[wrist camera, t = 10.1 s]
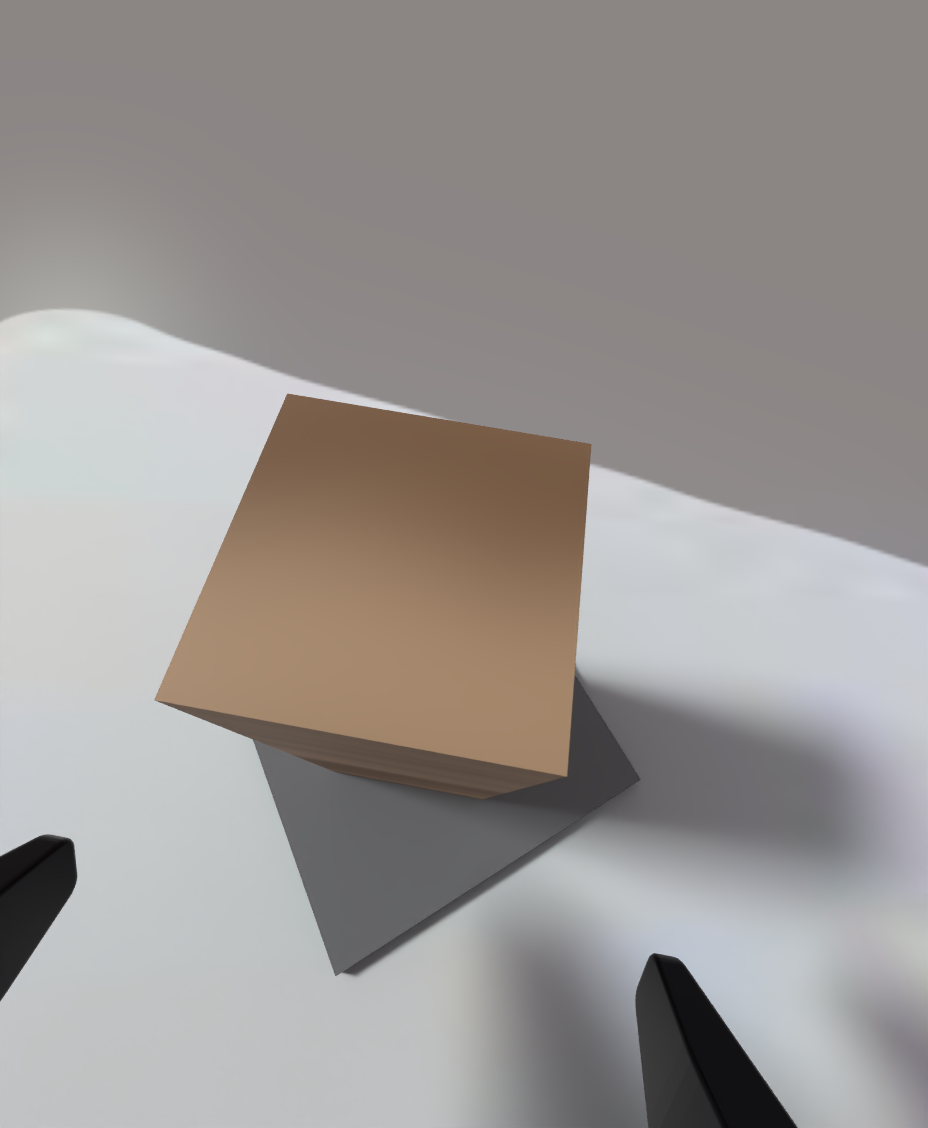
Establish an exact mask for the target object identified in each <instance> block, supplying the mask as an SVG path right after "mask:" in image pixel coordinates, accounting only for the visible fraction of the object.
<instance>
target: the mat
mask: <svg viewBox="0 0 928 1128" xmlns="http://www.w3.org/2000/svg"><path fill="white" fill-rule="evenodd" d="M253 741H254V744H255V746H256V749H257V752H258V755H259V758H260V761H261V764H262V767H263V769H264V772H265V775H266V778H267V781H268V784H269V787H270V790H271V792H272V795H273V798H274V801H275V804H276V807H277V810H278V812H279V815H280V818H281V821H282V824H283V827H284V830H285V833H286V835H287V838H288V841H289V844H290V847H291V850H292V853H293V856H294V858H295V861H296V864H297V867H298V870H299V873H300V876H301V879H302V881H303V884H304V887H305V890H306V893H307V896H308V899H309V902H310V904H311V907H312V910H313V913H314V916H315V919H316V922H317V924H318V927H319V930H320V933H321V936H322V939H323V942H324V945H325V947H326V950H327V953H328V956H329V959H330V962H331V965H332V968H333V970H334V973H335V976H337V975H338V974H340V973H341V972H343V971H345V970H346V969H348V968H349V967H351V966H352V965H354V964H355V963H357V962H359V961H360V960H362V959H363V958H365V957H366V956H368V955H369V954H371V953H372V952H374V951H376V950H377V949H379V948H380V947H382V946H383V945H385V944H386V943H388V942H390V941H391V940H393V939H394V938H396V937H397V936H399V935H400V934H402V933H403V932H405V931H407V930H408V929H410V928H411V927H413V926H414V925H416V924H417V923H419V922H420V921H422V920H424V919H425V918H427V917H428V916H430V915H431V914H433V913H434V912H436V911H438V910H439V909H441V908H442V907H444V906H445V905H447V904H448V903H450V902H451V901H453V900H455V899H456V898H458V897H459V896H461V895H462V894H464V893H465V892H467V891H469V890H470V889H472V888H473V887H475V886H476V885H478V884H479V883H481V882H482V881H484V880H486V879H487V878H489V877H490V876H492V875H493V874H495V873H496V872H498V871H499V870H501V869H503V868H504V867H506V866H507V865H509V864H510V863H512V862H513V861H515V860H517V859H518V858H520V857H521V856H523V855H524V854H526V853H527V852H529V851H530V850H532V849H534V848H535V847H537V846H538V845H540V844H541V843H543V842H544V841H546V840H548V839H549V838H551V837H552V836H554V835H555V834H557V833H558V832H560V831H561V830H563V829H565V828H566V827H568V826H569V825H571V824H572V823H574V822H575V821H577V820H578V819H580V818H582V817H583V816H585V815H586V814H588V813H589V812H591V811H592V810H594V809H596V808H597V807H599V806H600V805H602V804H603V803H605V802H606V801H608V800H609V799H611V798H613V797H614V796H616V795H617V794H619V793H620V792H622V791H623V790H625V789H627V788H628V787H630V786H631V785H633V784H634V783H636V782H637V781H639V780H640V778H639V776H638V775H637V773H636V772H635V770H634V768H633V767H632V765H631V764H630V762H629V760H628V759H627V757H626V756H625V754H624V752H623V751H622V749H621V748H620V746H619V745H618V743H617V741H616V740H615V738H614V737H613V735H612V733H611V732H610V730H609V729H608V727H607V725H606V724H605V722H604V721H603V719H602V717H601V716H600V714H599V713H598V711H597V709H596V708H595V706H594V705H593V703H592V702H591V700H590V698H589V697H588V695H587V694H586V692H585V690H584V689H583V687H582V686H581V684H580V682H579V681H578V679H577V678H576V676H575V674H574V688H573V702H572V716H571V729H570V743H569V757H568V771H567V777H564V778H560V779H556V780H553V781H549V782H545V783H541V784H538V785H534V786H530V787H527V788H523V789H519V790H515V791H512V792H508V793H504V794H500V795H497V796H493V797H489V798H486V799H477V798H471V797H466V796H461V795H455V794H450V793H445V792H439V791H434V790H429V789H423V788H418V787H413V786H407V785H402V784H397V783H391V782H386V781H381V780H375V779H370V778H365V777H359V776H354V775H349V774H343V773H338V772H334V771H331V770H329V769H326V768H324V767H321V766H319V765H316V764H314V763H311V762H309V761H306V760H304V759H301V758H299V757H296V756H294V755H291V754H289V753H286V752H284V751H281V750H279V749H276V748H274V747H271V746H269V745H266V744H264V743H261V742H259V741H256V740H253Z"/></svg>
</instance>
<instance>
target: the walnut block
mask: <svg viewBox="0 0 928 1128" xmlns="http://www.w3.org/2000/svg"><path fill="white" fill-rule="evenodd" d="M590 454H591V444H587V443H581V442H575V441H569V440H563V439H557V438H551V437H545V436H538V435H533V434H527V433H521V432H515V431H508V430H503V429H497V428H491V427H485V426H478V425H473V424H467V423H461V422H455V421H449V420H443V419H437V418H431V417H425V416H419V415H413V414H407V413H401V412H395V411H389V410H383V409H377V408H371V407H365V406H359V405H353V404H347V403H341V402H335V401H329V400H323V399H317V398H311V397H305V396H299V395H293V394H287V396H286V398H285V400H284V403H283V405H282V407H281V409H280V412H279V414H278V416H277V419H276V421H275V423H274V426H273V428H272V430H271V433H270V435H269V437H268V439H267V442H266V444H265V446H264V449H263V451H262V453H261V456H260V458H259V460H258V462H257V465H256V467H255V469H254V472H253V474H252V476H251V479H250V481H249V483H248V486H247V488H246V490H245V492H244V495H243V497H242V499H241V502H240V504H239V506H238V509H237V511H236V513H235V515H234V518H233V520H232V522H231V525H230V527H229V529H228V532H227V534H226V536H225V538H224V541H223V543H222V545H221V548H220V550H219V552H218V555H217V557H216V559H215V562H214V564H213V566H212V568H211V571H210V573H209V575H208V578H207V580H206V582H205V585H204V587H203V589H202V591H201V594H200V596H199V598H198V601H197V603H196V605H195V608H194V610H193V612H192V614H191V617H190V619H189V621H188V624H187V626H186V628H185V631H184V633H183V635H182V638H181V640H180V642H179V644H178V647H177V649H176V651H175V654H174V656H173V658H172V661H171V663H170V665H169V667H168V670H167V672H166V674H165V677H164V679H163V681H162V684H161V686H160V688H159V691H158V693H157V695H156V697H155V701H158V702H160V703H163V704H165V705H168V706H170V707H173V708H176V709H178V710H181V711H183V712H186V713H188V714H191V715H193V716H196V717H198V718H201V719H203V720H206V721H208V722H211V723H213V724H216V725H218V726H221V727H223V728H226V729H228V730H231V731H233V732H236V733H238V734H241V735H243V736H246V737H248V738H251V739H253V740H256V741H259V742H261V743H264V744H266V745H269V746H271V747H274V748H276V749H279V750H281V751H284V752H286V753H289V754H291V755H294V756H296V757H299V758H301V759H304V760H306V761H309V762H311V763H314V764H316V765H319V766H321V767H324V768H326V769H329V770H331V771H334V772H338V773H343V774H349V775H354V776H359V777H365V778H370V779H375V780H381V781H386V782H391V783H397V784H402V785H407V786H413V787H418V788H423V789H429V790H434V791H439V792H445V793H450V794H455V795H461V796H466V797H471V798H477V799H486V798H489V797H493V796H497V795H500V794H504V793H508V792H512V791H515V790H519V789H523V788H527V787H530V786H534V785H538V784H541V783H545V782H549V781H553V780H556V779H560V778H564V777H567V771H568V757H569V743H570V729H571V716H572V702H573V688H574V674H575V661H576V647H577V633H578V620H579V606H580V592H581V578H582V565H583V551H584V537H585V523H586V510H587V496H588V482H589V468H590Z"/></svg>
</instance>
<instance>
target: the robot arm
mask: <svg viewBox="0 0 928 1128" xmlns="http://www.w3.org/2000/svg"><path fill="white" fill-rule="evenodd" d="M76 881H77V868H76V858H75V849H74V843H73V841H72V840H71V839H69V838H65V837H60V836H55V835H42V836H39V837H37V838H35V839H33V840H31V841H29V842H27V843H25V844H23V845H21V846H19V847H17V848H15V849H13V850H11V851H9V852H8V853H6V854H4V855H2V856H0V1001H1V1000H2V998H3V997H4V995H5V994H6V992H7V991H8V989H9V988H10V986H11V985H12V983H13V982H14V980H15V979H16V977H17V976H18V974H19V973H20V971H21V970H22V968H23V967H24V965H25V964H26V962H27V961H28V959H29V958H30V956H31V955H32V953H33V952H34V950H35V949H36V947H37V946H38V944H39V943H40V941H41V940H42V938H43V937H44V935H45V933H46V932H47V930H48V929H49V927H50V926H51V924H52V923H53V921H54V920H55V918H56V917H57V915H58V914H59V912H60V911H61V909H62V908H63V906H64V905H65V903H66V902H67V900H68V899H69V897H70V896H71V894H72V892H73V890H74V888H75V885H76ZM635 1001H636V1016H637V1025H638V1034H639V1044H640V1053H641V1062H642V1072H643V1081H644V1091H645V1100H646V1109H647V1119H648V1127H649V1128H798V1127H797V1126H796V1125H795V1123H794V1122H793V1120H792V1119H791V1117H790V1116H789V1114H788V1113H787V1112H786V1110H785V1109H784V1107H783V1106H782V1104H781V1103H780V1101H779V1100H778V1099H777V1097H776V1096H775V1094H774V1093H773V1091H772V1090H771V1089H770V1087H769V1086H768V1084H767V1083H766V1081H765V1080H764V1078H763V1077H762V1076H761V1074H760V1073H759V1071H758V1070H757V1068H756V1067H755V1065H754V1064H753V1063H752V1061H751V1060H750V1058H749V1057H748V1055H747V1054H746V1053H745V1051H744V1050H743V1048H742V1047H741V1045H740V1044H739V1042H738V1041H737V1040H736V1038H735V1037H734V1035H733V1034H732V1032H731V1031H730V1029H729V1028H728V1027H727V1025H726V1024H725V1022H724V1021H723V1019H722V1018H721V1017H720V1015H719V1014H718V1012H717V1011H716V1009H715V1008H714V1006H713V1005H712V1004H711V1002H710V1001H709V999H708V998H707V996H706V995H705V993H704V992H703V991H702V989H701V988H700V986H699V985H698V983H697V982H696V981H695V979H694V978H693V976H692V975H691V973H690V972H689V970H688V969H687V968H686V966H685V965H684V964H683V962H682V961H680V960H679V959H678V958H676V957H672V956H667V955H662V954H657V953H653V954H652V955H650V957H649V958H648V961H647V963H646V966H645V968H644V971H643V974H642V976H641V979H640V981H639V984H638V987H637V990H636V999H635Z"/></svg>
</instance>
